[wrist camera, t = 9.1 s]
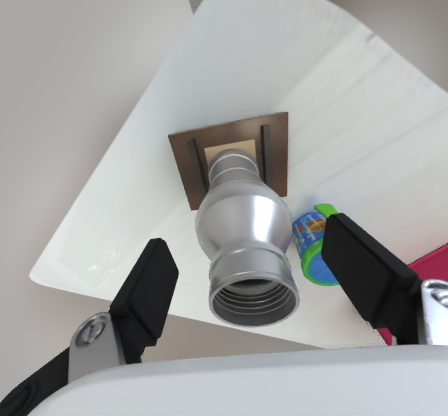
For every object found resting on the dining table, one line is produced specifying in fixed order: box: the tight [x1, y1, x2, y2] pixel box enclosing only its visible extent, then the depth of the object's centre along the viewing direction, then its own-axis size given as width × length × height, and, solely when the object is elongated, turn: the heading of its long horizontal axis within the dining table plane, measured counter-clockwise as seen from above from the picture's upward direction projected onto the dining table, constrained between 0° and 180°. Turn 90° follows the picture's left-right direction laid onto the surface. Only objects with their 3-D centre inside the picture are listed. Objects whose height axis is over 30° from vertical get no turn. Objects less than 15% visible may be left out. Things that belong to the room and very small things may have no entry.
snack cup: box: [292, 204, 339, 286], centre depth 30 cm, size 16×10×10 cm
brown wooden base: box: [168, 112, 288, 211], centre depth 25 cm, size 12×16×6 cm
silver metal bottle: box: [195, 148, 300, 328], centre depth 15 cm, size 6×7×20 cm
